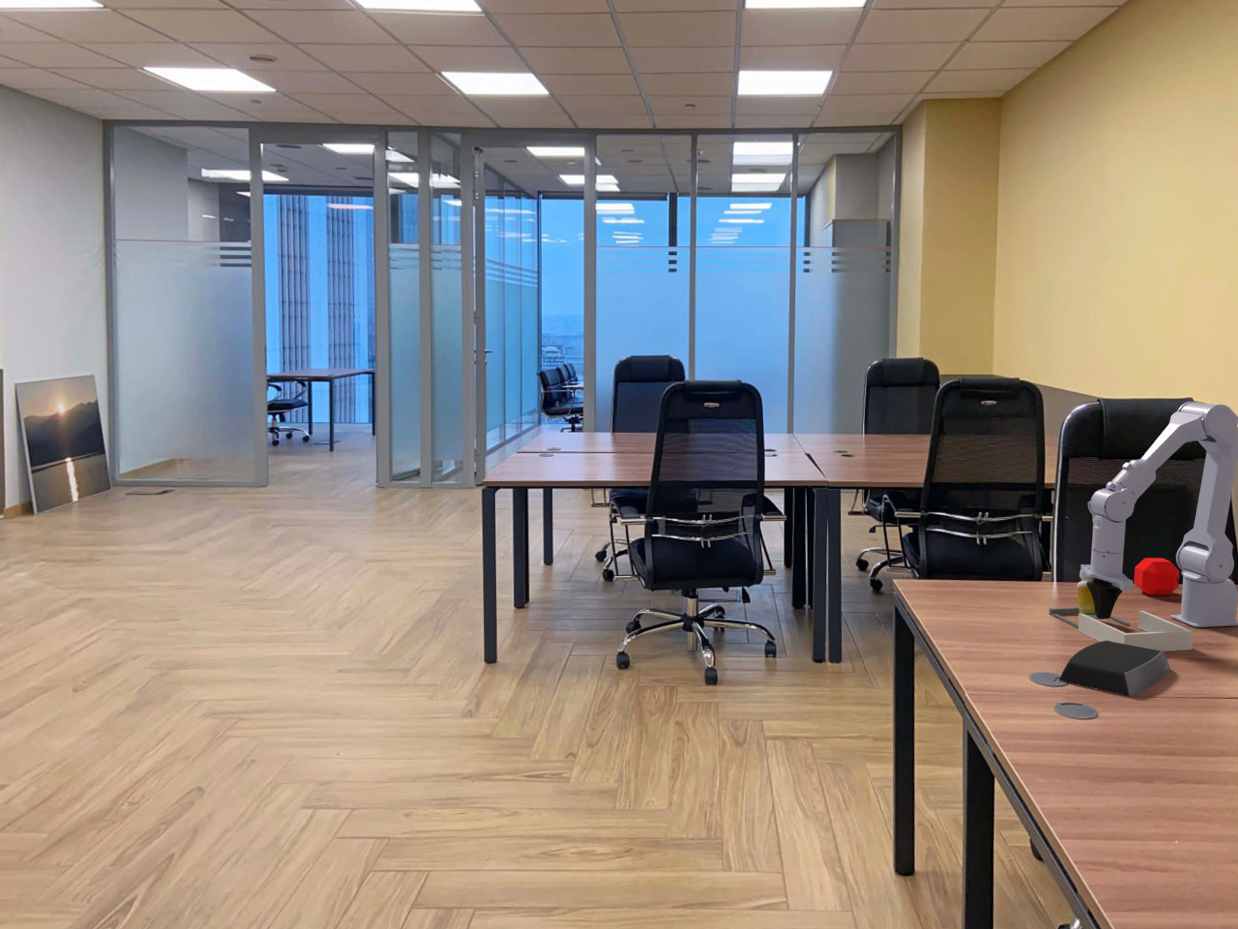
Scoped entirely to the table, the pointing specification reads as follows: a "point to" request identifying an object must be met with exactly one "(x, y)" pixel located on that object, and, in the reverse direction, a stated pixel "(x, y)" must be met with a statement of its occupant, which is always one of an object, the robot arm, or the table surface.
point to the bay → (1155, 637)
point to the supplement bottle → (1085, 597)
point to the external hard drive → (1116, 667)
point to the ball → (1156, 576)
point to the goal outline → (1075, 610)
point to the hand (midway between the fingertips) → (1103, 618)
